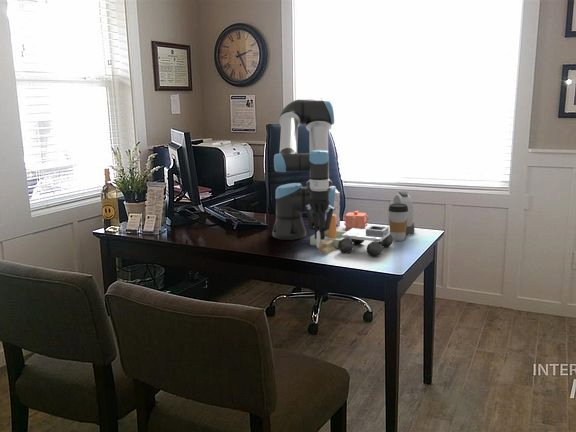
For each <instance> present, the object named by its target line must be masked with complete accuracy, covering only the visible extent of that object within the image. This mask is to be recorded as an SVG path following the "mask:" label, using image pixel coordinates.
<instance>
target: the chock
mask: <svg viewBox="0 0 576 432" xmlns="http://www.w3.org/2000/svg"><path fill="white" fill-rule="evenodd" d="M334 250H335V248H334V241H333V240H323V241H322V242H320V243H319V248H318V254H326V255H328V254H330V253H332V252H333V251H334Z"/></svg>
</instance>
